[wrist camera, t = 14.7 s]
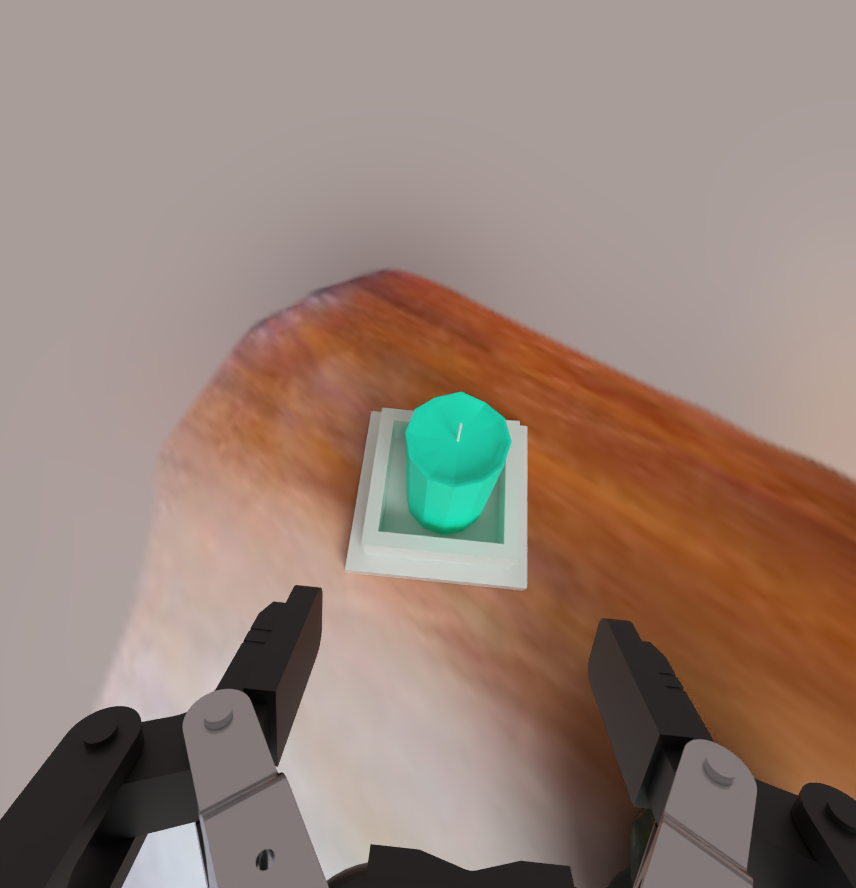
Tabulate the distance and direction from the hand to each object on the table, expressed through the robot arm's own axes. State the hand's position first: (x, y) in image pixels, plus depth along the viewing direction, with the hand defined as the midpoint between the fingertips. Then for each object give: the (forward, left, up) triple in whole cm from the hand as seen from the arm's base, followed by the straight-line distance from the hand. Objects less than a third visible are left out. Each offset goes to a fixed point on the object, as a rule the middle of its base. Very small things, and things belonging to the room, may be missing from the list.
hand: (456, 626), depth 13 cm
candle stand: (0, -11, -21) cm, 23 cm away
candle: (0, -11, -20) cm, 22 cm away
